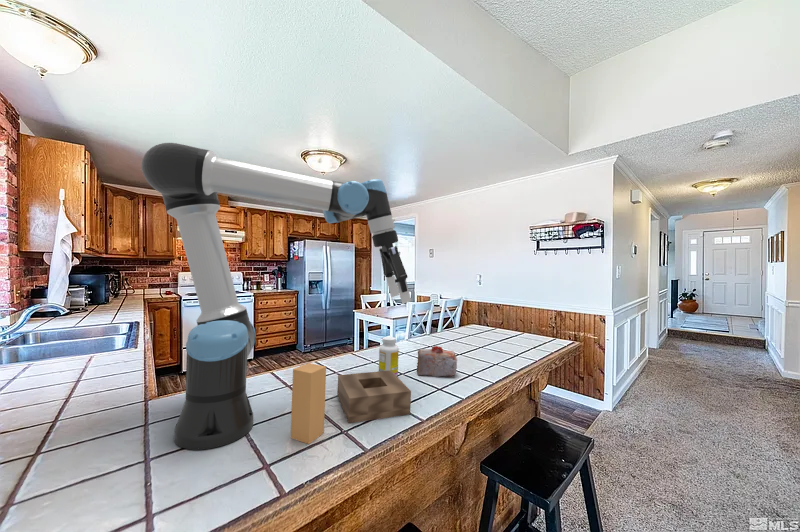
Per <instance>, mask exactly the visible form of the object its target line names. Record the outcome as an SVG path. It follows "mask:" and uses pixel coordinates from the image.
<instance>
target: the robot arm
mask: <svg viewBox="0 0 800 532" xmlns="http://www.w3.org/2000/svg"><path fill="white" fill-rule="evenodd" d="M141 172H142V175H143V177H144V178H145V180H146V182H147V183H148V184H149V186H151V187H152V188H153V189H154V190H156V191H157V192H158V193H160V194H161V196H162V199H163V203H164V206H165V211H166V214H167V215H169V216H171V217H172V218H174V219H175V220H176V224H177V227H178V229H179V234H180V238H181V242H182V245H183V248H184V253H185V256H186V259H187V264H188V267H189V271H190V274H191V279H192V282H193V286H194V288H195V292H196V297H197V301H198V304H199V308H200V312H201V313H200V315H198V317H197V319H195V320H196V324H197V325H196V326H194V327H193V328H192V329H190V331H189V332H188V335H187V340H186V343H185V349H186V365H185V367H186V369H185V401H184V404H183V406H182V409H181V411H180V415H179V417H178V419H177V423H176V425H175V428H174V438H173V439H174V440H173V441H174V443H175V444H176V445H177V446H178V447H180V448H182V449H185V450H186V449H187V450H208V449H214V448H219V447H221V446H222V447H223V446H226V445H228V444H231V443H233V442H236V441H237V440H239V439H241V438H243V437H245V436H246V435H247V434H248V433H249V432H250V431H251V430H252V428H253V426H254V412H253V409H252V407H251V406H252V405H251V404H250V400H249V397H248V395H247V369H248V368H247V366H248V357H249V355H250V354H251V352H252V350H253V349H254V346H255V343H256V329H255V327H254V324H253V323H252V322H251V320H250V318H249V314H248V313H249V312H248V309H247V307H246V306H244V305H242V304H241V303H239V300H238V297H237V293H236V288H235V285H234V281H233V277H232V273H231V269H230V266H229V262H228V261H229V260H228V257H227V253H226V250H225V246H224V243H223V238H222V234H221V230H220V227H219V224H218V223H219V222H218V219H217V213H218V211H219V210H220V209H221V204H220V201H219V195H218V193H220V194H224V195H225V194H226V195H232V196H237V197H244V198H249V199H254V200H260V201H261V200H262V201H266V202H271V203H273V202H274V203H278V204H279V203H280V204H284V205H290V206H291V205H292V206H298V207H302V208H308V209H314V210H319V211H321V210H322V213H323V214H322V215H323V217H324V219H325V222H327V223H328V224H334V223H340V222H344V221H349V220H352V219H357V218H360V217H366V220H367V225H368V229H369V231H370V234H371V235H372V236H371V239H372V243H373V246H374V248H379V247H381V248H379V254H380V257H381V265H382V272H383V275H384V276H385V279H386V282H387V286H388V290H389V294H390V298H394V297H398V296H399V297H400V302H401V304H407V303H409V302H410V303H411V302H412V299H411V294H410V291H409V287H408V282H407V279H408V274H407V272H406V269H405V267H404V263H403V261H402V259H401V256H400V253H399V250H398V247H397V245H396V246H394V244H395V243H396V244H397V243H398V242H399V237H398V233H397V231H396V230H394V229H395V223H394V222H395V220H396V218H395V217H393V214H392V211H391V206H390V203H389V197H388V193H387V188H386V186H385V183H384V181H383V180H382V179H379V178H373V179H369V180H365V181H363V182H359V181H355V180H350V181H346V182H341V181H337V180H336V181H335V180H330V179H325V178H321V177H316V176H311V175H307V174H301V173H297V172H291V171H286V170H282V169H277V168H272V167H269V166H263V165H258V164H253V163H248V162H243V161H239V160H235V159H234V160H233V159H230V158H224V157H218V156H217V155H216V154H215V153H214V151H212V150H209V149H204V148H200V147H195V146H191V145H187V144H182V143H177V142H162V143H159V144H158V143H157V144H156V145H154V146H152V147H150V148H149V149H148V150H147V151H146V152H145V154H144V155H143V158H142V161H141Z"/></svg>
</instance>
